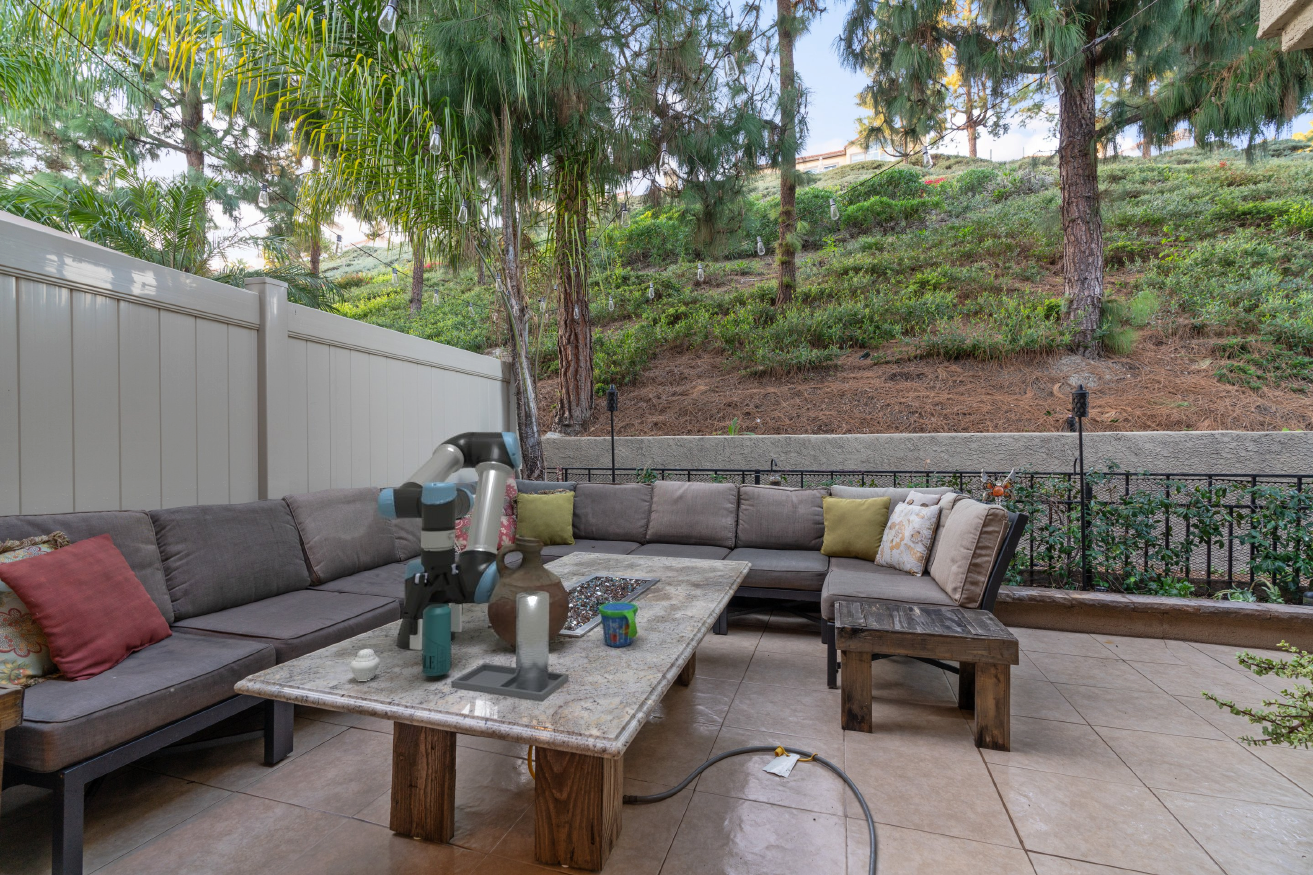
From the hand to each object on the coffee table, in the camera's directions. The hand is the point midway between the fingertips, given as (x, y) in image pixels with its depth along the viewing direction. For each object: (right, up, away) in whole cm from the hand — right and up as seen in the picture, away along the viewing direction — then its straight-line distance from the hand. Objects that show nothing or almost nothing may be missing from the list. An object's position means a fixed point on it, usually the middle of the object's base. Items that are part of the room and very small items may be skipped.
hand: (436, 639), depth 131 cm
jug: (+16, -10, +21) cm, 29 cm away
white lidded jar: (-16, -9, -1) cm, 18 cm away
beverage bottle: (0, -9, 0) cm, 9 cm away
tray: (+19, -8, -7) cm, 22 cm away
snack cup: (+41, -10, +24) cm, 48 cm away
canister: (+24, -7, -8) cm, 27 cm away
